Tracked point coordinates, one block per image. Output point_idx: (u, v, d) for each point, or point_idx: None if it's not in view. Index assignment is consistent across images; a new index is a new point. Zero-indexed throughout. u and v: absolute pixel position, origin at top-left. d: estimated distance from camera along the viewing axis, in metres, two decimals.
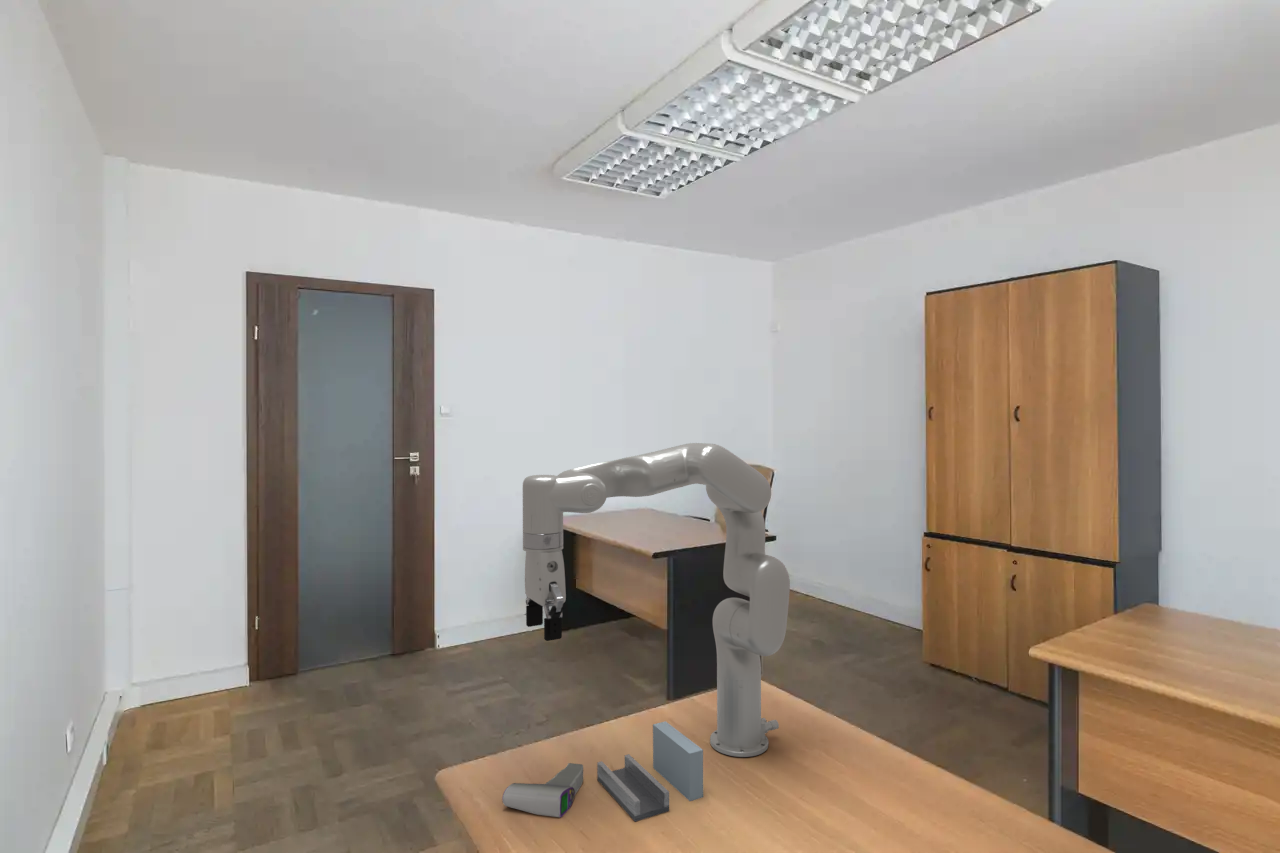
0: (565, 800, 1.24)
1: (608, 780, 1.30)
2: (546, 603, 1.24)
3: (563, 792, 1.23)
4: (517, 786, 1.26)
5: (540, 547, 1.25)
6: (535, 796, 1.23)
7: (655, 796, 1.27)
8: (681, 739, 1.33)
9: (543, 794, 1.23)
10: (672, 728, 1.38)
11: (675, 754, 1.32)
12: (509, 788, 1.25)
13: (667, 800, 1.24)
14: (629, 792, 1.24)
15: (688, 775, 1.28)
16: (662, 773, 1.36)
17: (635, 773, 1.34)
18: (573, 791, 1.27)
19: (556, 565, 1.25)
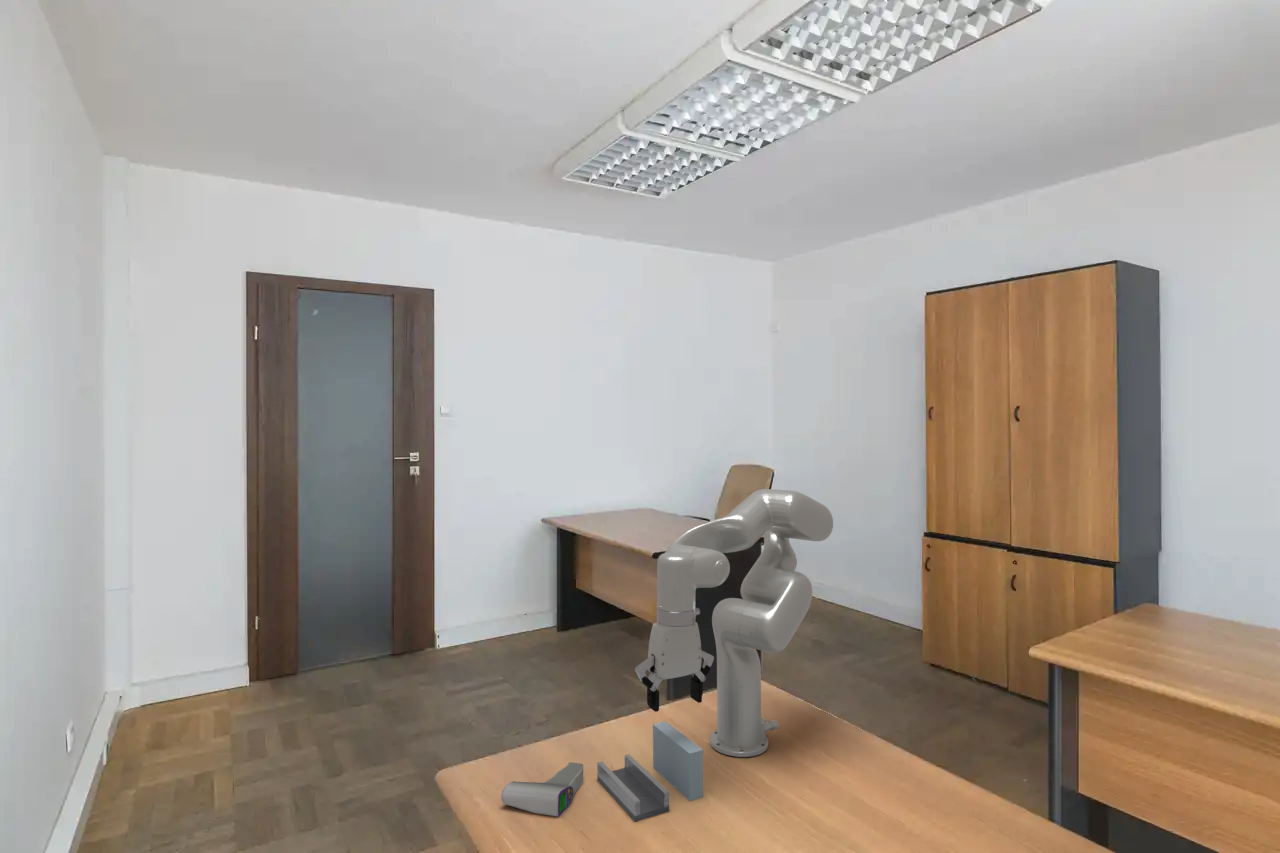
0: (563, 800, 1.24)
1: (608, 780, 1.30)
2: None
3: (561, 791, 1.23)
4: (516, 784, 1.26)
5: (694, 619, 1.34)
6: (533, 795, 1.23)
7: (655, 796, 1.27)
8: (681, 739, 1.33)
9: (541, 793, 1.23)
10: (672, 728, 1.38)
11: (675, 754, 1.32)
12: (508, 786, 1.26)
13: (667, 800, 1.24)
14: (629, 792, 1.24)
15: (688, 775, 1.28)
16: (662, 773, 1.36)
17: (635, 773, 1.34)
18: (572, 790, 1.27)
19: None
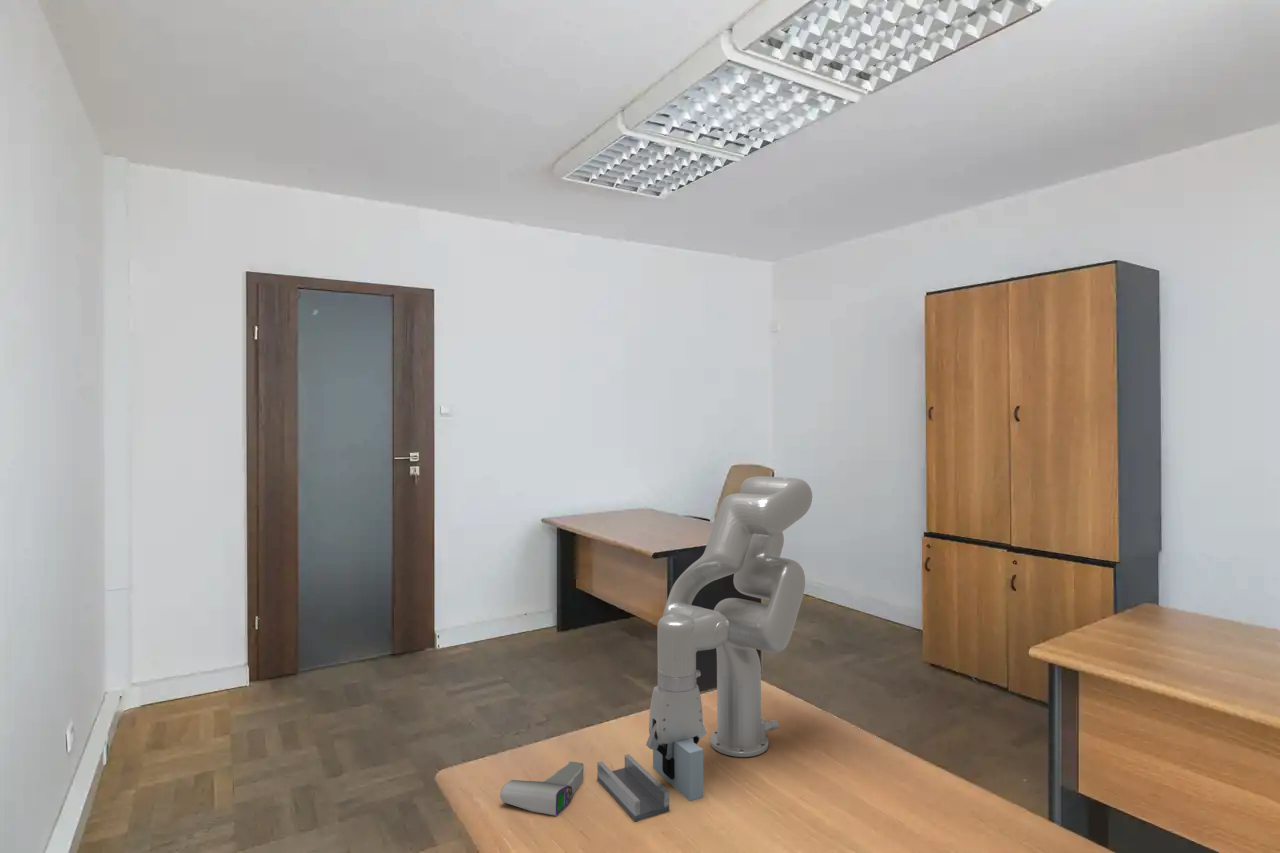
0: (561, 799, 1.24)
1: (608, 780, 1.30)
2: (692, 738, 1.35)
3: (559, 790, 1.24)
4: (515, 783, 1.27)
5: None
6: (531, 794, 1.24)
7: (655, 796, 1.27)
8: None
9: (539, 792, 1.24)
10: None
11: (675, 754, 1.32)
12: (507, 785, 1.26)
13: (667, 800, 1.24)
14: (629, 792, 1.24)
15: (688, 774, 1.28)
16: (662, 772, 1.36)
17: (635, 773, 1.34)
18: (570, 790, 1.27)
19: None
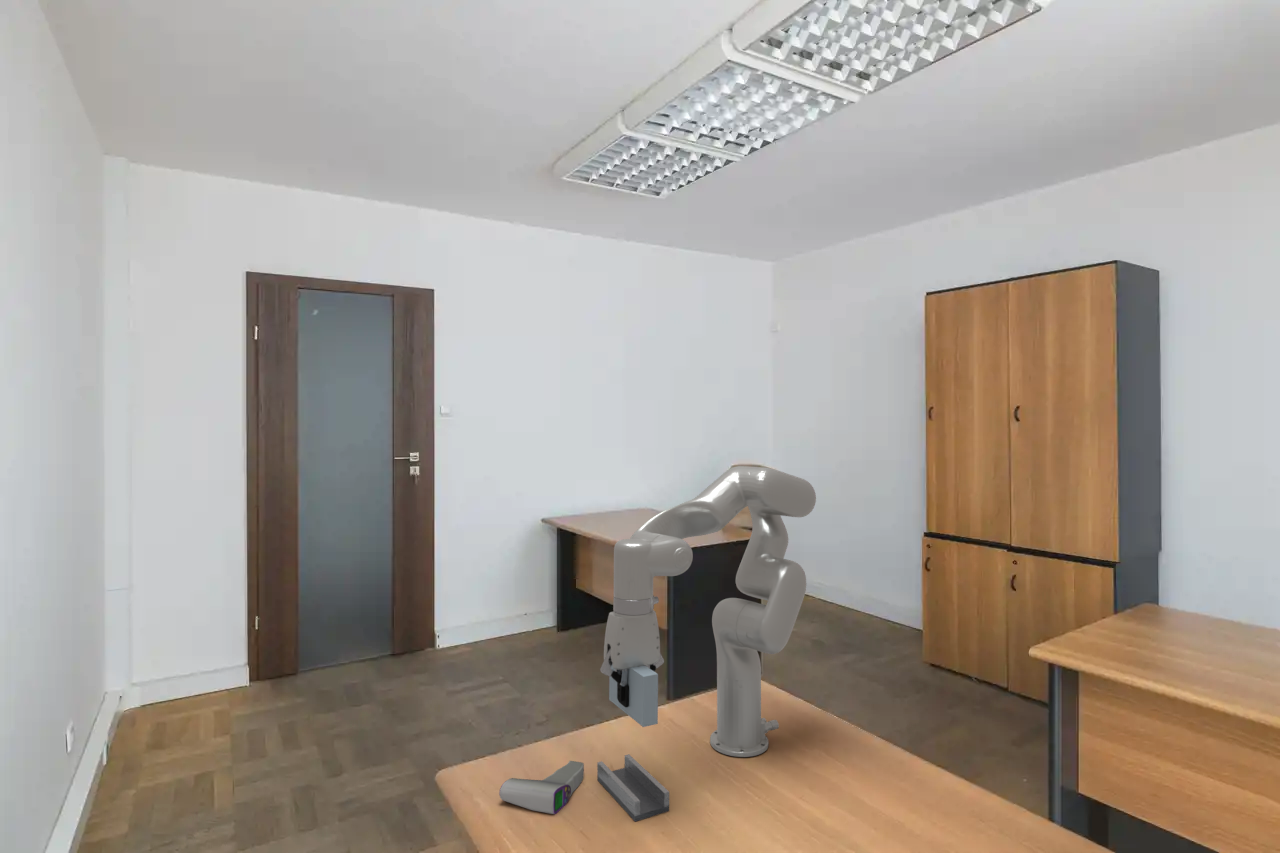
0: (559, 798, 1.25)
1: (608, 780, 1.30)
2: None
3: (557, 789, 1.24)
4: (514, 781, 1.27)
5: (652, 608, 1.30)
6: (530, 792, 1.24)
7: (655, 796, 1.27)
8: None
9: (537, 791, 1.24)
10: None
11: (630, 681, 1.27)
12: (506, 783, 1.27)
13: (667, 800, 1.24)
14: (629, 792, 1.24)
15: (642, 699, 1.23)
16: (618, 702, 1.31)
17: (635, 773, 1.34)
18: (569, 789, 1.28)
19: None
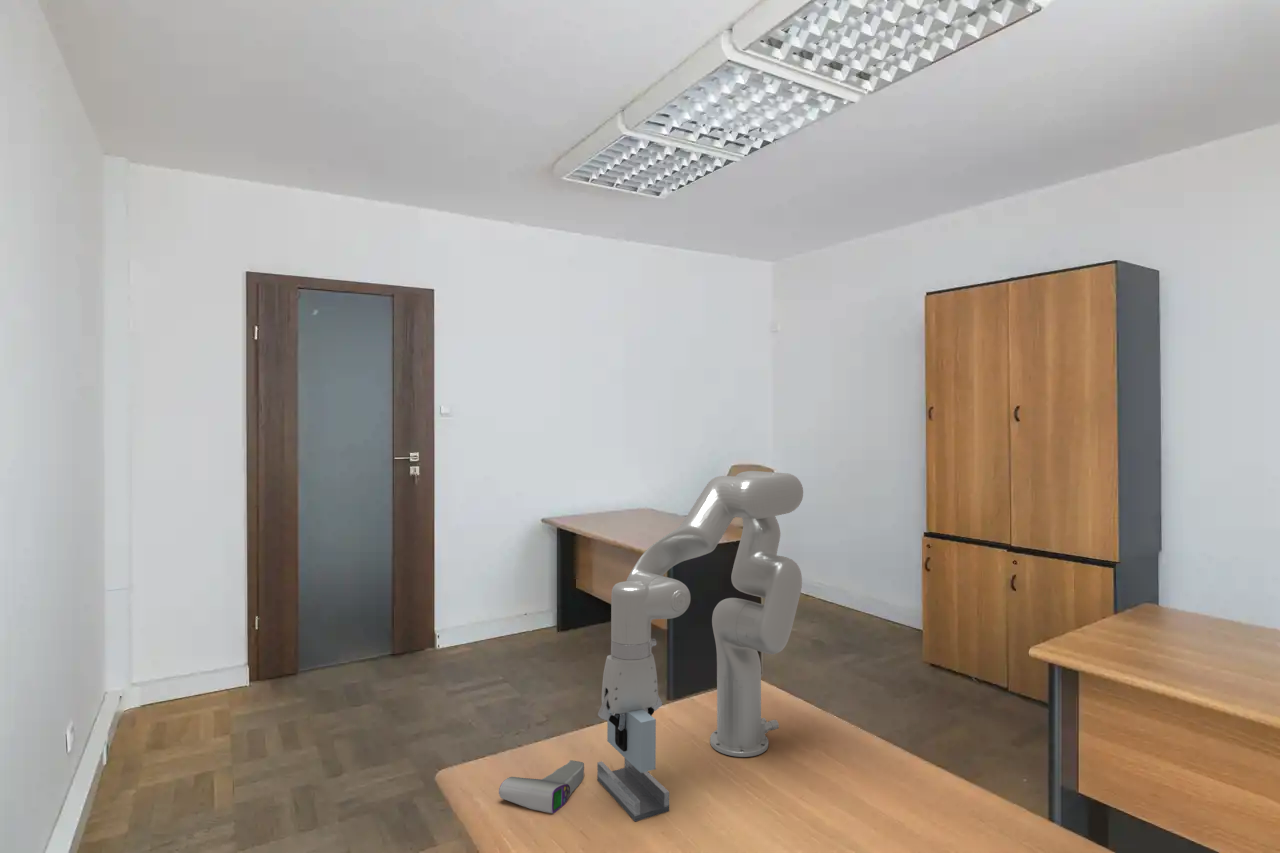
0: (558, 797, 1.25)
1: (608, 780, 1.30)
2: None
3: (556, 788, 1.24)
4: (514, 780, 1.28)
5: (650, 651, 1.29)
6: (529, 791, 1.25)
7: (655, 796, 1.27)
8: None
9: (536, 790, 1.24)
10: None
11: (627, 725, 1.27)
12: (506, 781, 1.28)
13: (667, 800, 1.24)
14: (629, 792, 1.24)
15: (640, 745, 1.23)
16: (616, 745, 1.31)
17: (635, 773, 1.34)
18: (568, 788, 1.28)
19: None
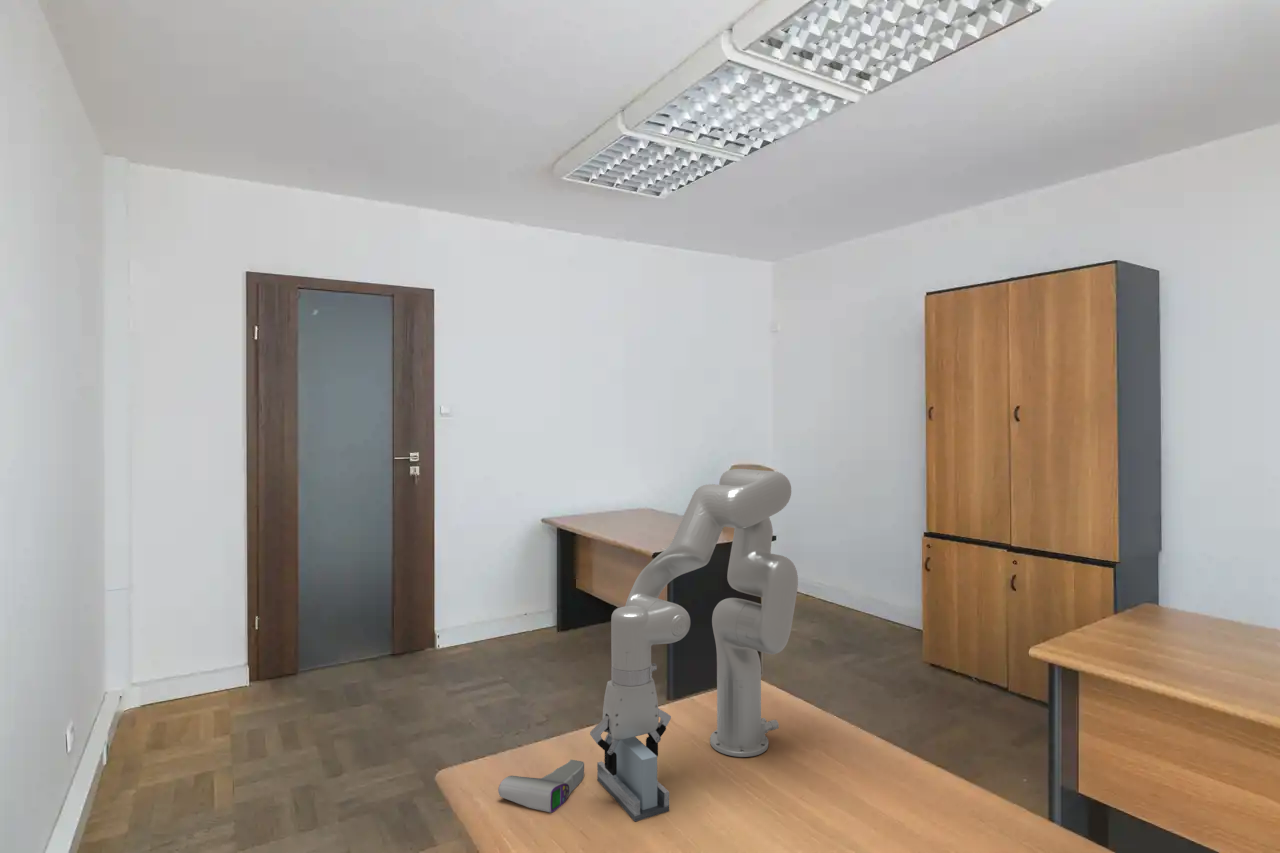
0: (556, 796, 1.25)
1: (608, 780, 1.30)
2: None
3: (555, 787, 1.25)
4: (513, 778, 1.28)
5: (650, 676, 1.29)
6: (527, 790, 1.25)
7: None
8: (636, 745, 1.28)
9: (535, 789, 1.25)
10: None
11: (629, 761, 1.27)
12: (505, 780, 1.28)
13: (667, 800, 1.24)
14: (629, 792, 1.24)
15: (641, 782, 1.23)
16: None
17: None
18: (567, 788, 1.28)
19: None
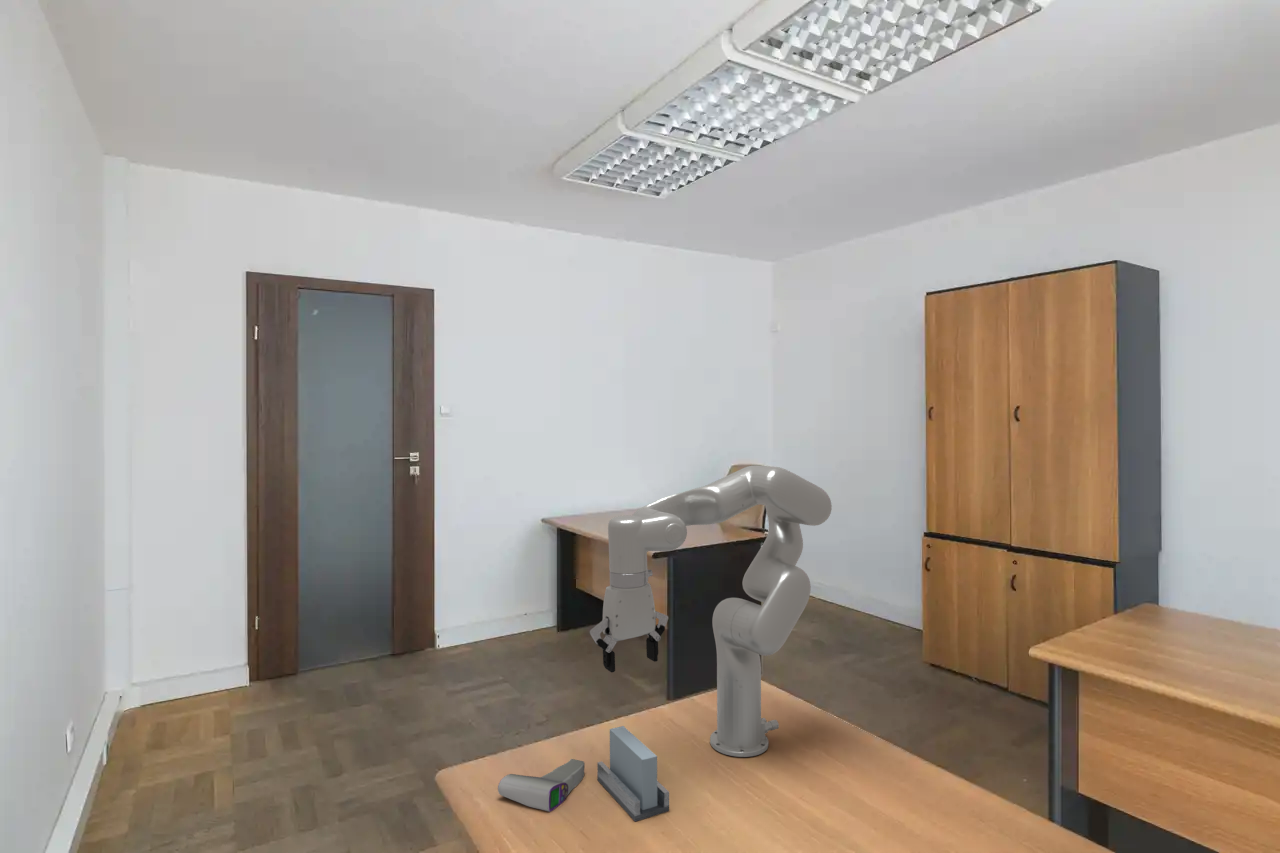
0: (555, 795, 1.25)
1: (608, 780, 1.30)
2: None
3: (553, 786, 1.25)
4: (513, 777, 1.29)
5: None
6: (526, 789, 1.25)
7: None
8: (636, 745, 1.28)
9: (534, 788, 1.25)
10: (629, 733, 1.33)
11: (629, 761, 1.27)
12: (505, 778, 1.29)
13: (667, 800, 1.24)
14: (629, 792, 1.24)
15: (641, 782, 1.23)
16: None
17: None
18: (566, 787, 1.28)
19: None
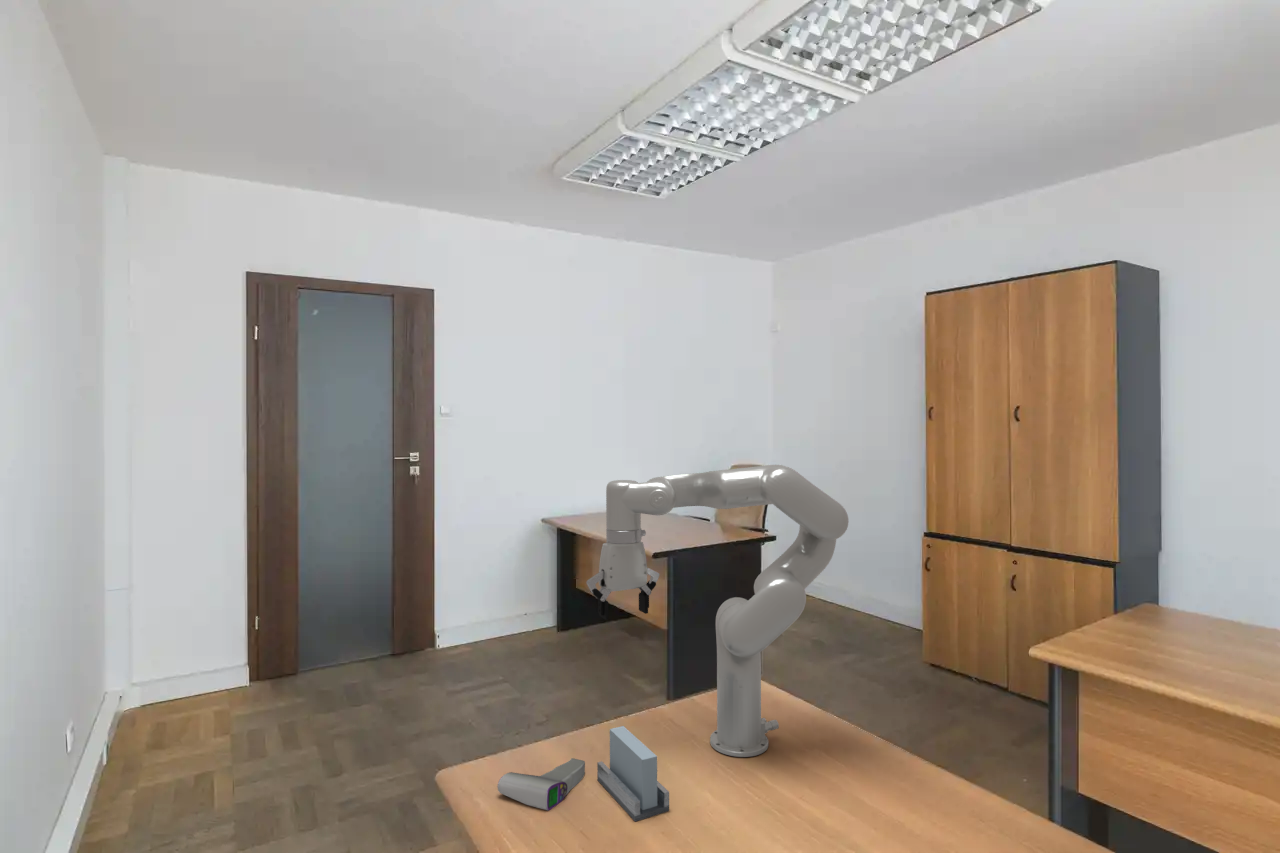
0: (554, 794, 1.26)
1: (608, 780, 1.30)
2: None
3: (552, 785, 1.25)
4: (512, 775, 1.29)
5: (640, 539, 1.50)
6: (525, 787, 1.26)
7: None
8: (636, 745, 1.28)
9: (532, 786, 1.26)
10: (629, 733, 1.33)
11: (629, 761, 1.27)
12: (504, 776, 1.29)
13: (667, 800, 1.24)
14: (629, 792, 1.24)
15: (641, 782, 1.23)
16: None
17: None
18: (565, 786, 1.29)
19: None
